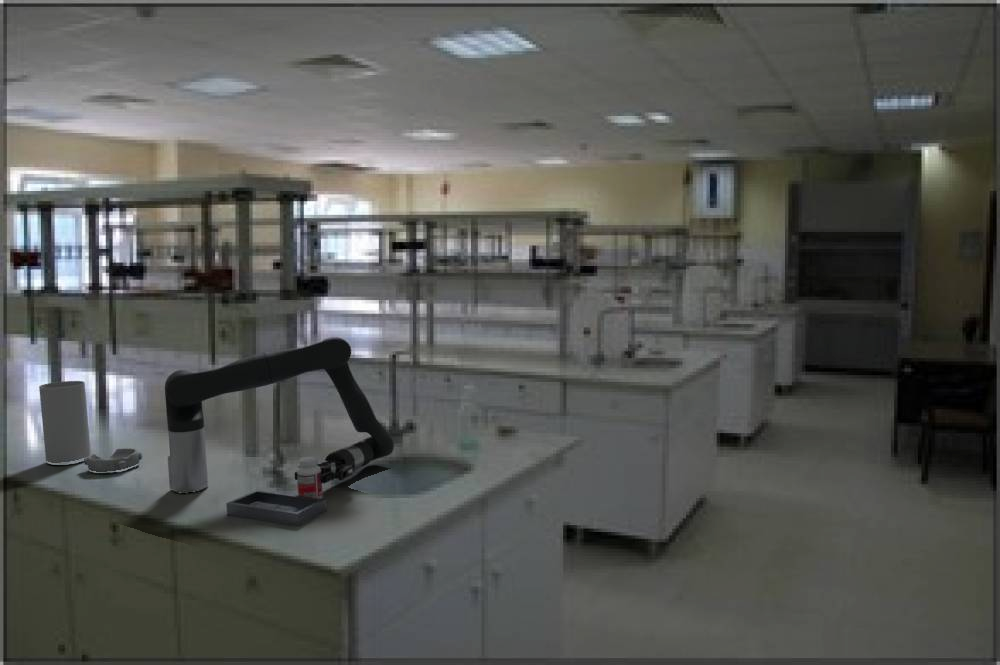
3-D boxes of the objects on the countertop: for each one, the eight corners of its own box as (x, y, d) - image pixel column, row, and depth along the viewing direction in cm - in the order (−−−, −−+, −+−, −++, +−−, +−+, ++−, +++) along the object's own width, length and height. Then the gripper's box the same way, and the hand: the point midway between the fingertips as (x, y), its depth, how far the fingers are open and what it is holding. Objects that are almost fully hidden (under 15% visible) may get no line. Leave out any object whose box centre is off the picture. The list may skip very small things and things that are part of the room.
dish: (78, 473, 226) (76, 457, 225) (116, 461, 238) (115, 445, 238) (113, 478, 220) (112, 461, 220) (151, 465, 233) (149, 449, 233)
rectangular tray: (227, 514, 187) (226, 503, 186) (257, 500, 197) (256, 489, 196) (298, 526, 178) (297, 513, 178) (326, 510, 188) (325, 499, 188)
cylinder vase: (79, 453, 248) (73, 379, 245) (98, 459, 240) (92, 383, 238) (39, 463, 237) (31, 385, 235) (57, 469, 230) (50, 389, 227)
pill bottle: (314, 494, 201) (312, 454, 200) (327, 499, 197) (325, 458, 195) (293, 500, 196) (291, 459, 195) (306, 505, 192) (304, 464, 191)
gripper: (323, 446, 213) (286, 461, 198) (365, 450, 207) (330, 466, 192) (324, 471, 214) (287, 489, 199) (366, 477, 208) (331, 495, 193)
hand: (308, 478), depth 196 cm, fingers open, 8 cm apart
